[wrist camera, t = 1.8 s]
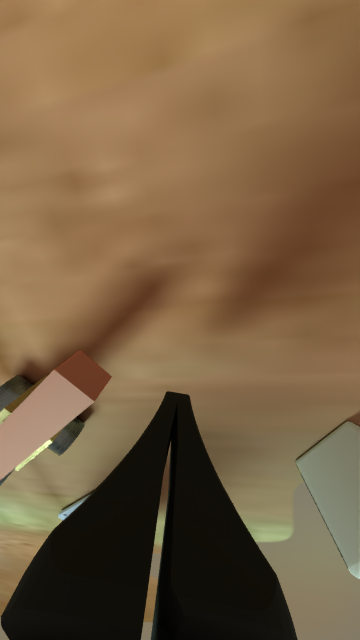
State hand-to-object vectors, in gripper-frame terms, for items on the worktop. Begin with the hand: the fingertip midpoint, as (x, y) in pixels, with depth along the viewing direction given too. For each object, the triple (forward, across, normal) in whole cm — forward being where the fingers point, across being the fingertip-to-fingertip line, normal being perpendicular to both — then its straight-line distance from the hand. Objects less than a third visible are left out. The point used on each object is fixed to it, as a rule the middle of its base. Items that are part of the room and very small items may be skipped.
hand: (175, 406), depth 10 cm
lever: (+1, +10, +4) cm, 10 cm away
